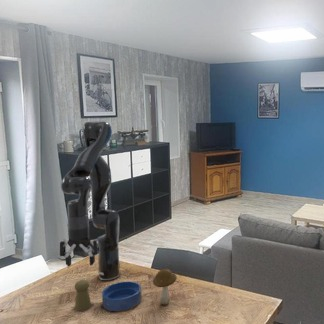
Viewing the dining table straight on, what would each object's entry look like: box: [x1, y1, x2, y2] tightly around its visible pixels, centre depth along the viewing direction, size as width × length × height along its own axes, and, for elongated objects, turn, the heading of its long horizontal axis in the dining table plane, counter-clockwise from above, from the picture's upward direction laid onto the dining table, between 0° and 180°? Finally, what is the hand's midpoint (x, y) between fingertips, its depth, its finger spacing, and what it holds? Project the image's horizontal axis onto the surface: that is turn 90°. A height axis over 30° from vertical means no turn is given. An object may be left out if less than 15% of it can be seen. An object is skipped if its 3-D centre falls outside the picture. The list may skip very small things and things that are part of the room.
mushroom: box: [152, 268, 178, 306], centre depth 141 cm, size 9×11×15 cm
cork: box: [74, 279, 92, 312], centre depth 137 cm, size 6×6×11 cm
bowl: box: [101, 280, 143, 312], centre depth 142 cm, size 15×15×6 cm
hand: (80, 265), depth 136 cm, fingers open, 8 cm apart
